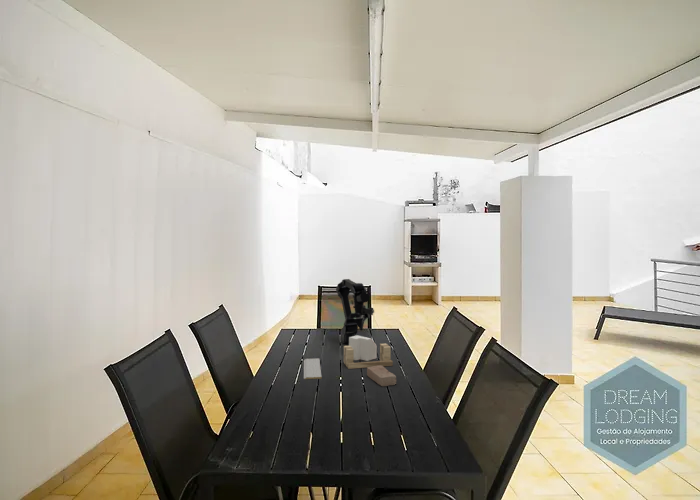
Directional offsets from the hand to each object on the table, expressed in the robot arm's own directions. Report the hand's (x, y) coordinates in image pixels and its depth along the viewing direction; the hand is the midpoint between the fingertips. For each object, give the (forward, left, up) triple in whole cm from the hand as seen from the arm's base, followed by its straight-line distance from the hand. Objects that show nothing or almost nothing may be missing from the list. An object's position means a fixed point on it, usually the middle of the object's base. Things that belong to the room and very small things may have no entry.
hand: (361, 330), depth 254 cm
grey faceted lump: (+8, -12, -13) cm, 19 cm away
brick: (+33, -37, -13) cm, 51 cm away
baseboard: (-5, -42, -13) cm, 45 cm away
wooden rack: (+15, -20, -12) cm, 28 cm away
